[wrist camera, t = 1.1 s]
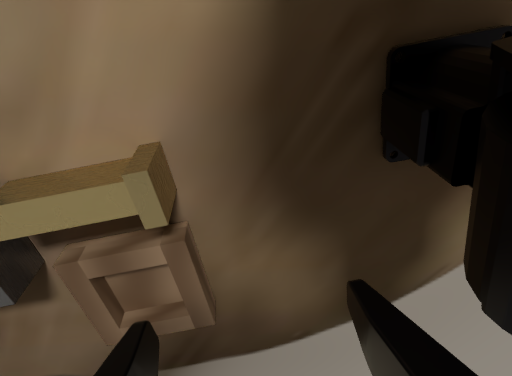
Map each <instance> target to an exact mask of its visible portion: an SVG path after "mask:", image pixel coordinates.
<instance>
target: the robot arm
mask: <svg viewBox="0 0 512 376" xmlns="http://www.w3.org/2000/svg"><path fill="white" fill-rule="evenodd" d="M504 33H505V37H504V38H503V39H502V35H503V34H504ZM399 52H401V58H400V59H399V60H398V61H396V60H395V57H396V55H397V54H398V53H399ZM380 134H381V136H382V137H383V157H384V158H385V159H386V160H387V161H389V162H397V161H402V160H407V159H411V160H412V161H414V162H415V163H416V164H417V165H419V166H428V167H429V168H430V169H431V170H433V171H434V172H435V173H437V174H438V175H439V176H440V177H442V178H443V179H444V180H446V181H447V182H448V183H450V184H451V185H452V186H456V187H457V186H462V185H469V186H470V187H471V188H473V190H472V198H471V206H470V214H469V222H468V229H467V237H466V245H465V253H464V267H465V274H466V280H467V281H468V283H469V285H470V286H471V288H472V290H473V291H474V293H475V294H476V296H477V298H478V299H479V301H480V302H481V303H482V305H481V306H482V310H483V312H484V313H485V314H486V315H487V316H488V317H490V318H491V319H492V320H493V321H494V322H495V323H496V324H498V325H499V326H500V327H501V328H502V329H504V330H505V331H507V332H508V333H510V334H511V335H512V26H505V25H502V26H497V27H492V28H487V29H482V30H477V31H471V32H466V33H461V34H456V35H451V36H446V37H441V38H435V39H430V40H425V41H420V42H415V43H410V44H405V45H399V46H396V47H393V48H392V49H391V50H390V51H389V53H388V56H387V70H386V88H385V90H384V91H383V93H382V106H381V132H380ZM393 151H395V153H394V154H393V155H392V156H390V153H391V152H393ZM347 304H348V308H349V311H350V314H351V317H352V320H353V323H354V326H355V329H356V332H357V335H358V338H359V341H360V344H361V347H362V350H363V353H364V356H365V359H366V361H367V364H368V366H369V369H370V371H371V373H372V375H373V376H478V375H477V374H475V373H474V372H473V371H472V370H470V369H469V368H468V367H467V366H466V365H465V364H463V363H462V362H461V361H460V360H458V359H457V358H456V357H455V356H454V355H453V354H451V353H450V352H449V351H448V350H447V349H445V348H444V347H443V346H442V345H440V344H439V343H438V342H437V341H435V340H434V339H433V338H432V337H431V336H430V335H428V334H427V333H426V332H425V331H424V330H422V329H421V328H420V327H419V326H417V325H416V324H415V323H414V322H413V321H412V320H410V319H409V318H408V317H407V316H406V315H404V314H403V313H402V312H401V311H399V310H398V309H397V308H396V307H394V305H392V304H391V303H390V302H389V301H388V300H386V299H385V298H384V297H383V296H382V295H380V294H379V293H378V292H377V291H375V290H374V289H373V288H372V287H371V286H369V285H368V284H367V283H366V282H365V281H363V280H361V279H357V280H352V281H348V282H347ZM158 362H159V339H158V336H157V334H156V332H155V330H154V328H153V327H152V325H151V323H150V322H149V321H148V320H144V321H139V322H135V323H133V324H132V325H131V326H130V328H129V329H128V330H127V332H126V333H125V334H124V336H123V337H122V338H121V340H120V341H119V342H118V344H117V345H116V346H115V348H114V349H113V350H112V352H111V353H110V354H109V356H108V357H107V358H106V360H105V361H104V362H103V364H102V365H101V367H100V368H99V369H98V371H97V372H96V373H95V375H94V376H158Z"/></svg>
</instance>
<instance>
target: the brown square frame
mask: <svg viewBox="0 0 512 376" xmlns="http://www.w3.org/2000/svg"><path fill="white" fill-rule="evenodd" d="M53 267H54V269H55V270H56V272H57V273H58V275H59V276H60V278H61V279H62V281H63V282H64V283H65V285H66V286H67V288H68V289H69V291H70V292H71V294H72V295H73V297H74V298H75V300H76V301H77V302H78V304H79V305H80V307H81V308H82V310H83V311H84V313H85V314H86V316H87V317H88V319H89V320H90V321H91V323H92V324H93V326H94V327H95V329H96V330H97V332H98V333H99V335H100V336H101V337H102V339H103V340H104V342H105V343H106V345H107V346H108V345H113V344H118V342H119V341H120V340H121V338H122V337H123V336H124V334H125V333H126V332H127V330H128V329H129V328H130V326H131V325H132V324H133V323H135V322H139V321H144V320H148V321H149V322H150V323H151V325H152V327H153V328H154V330H155V332H156V334H157V336H160V335H165V334H170V333H175V332H180V331H186V330H191V329H196V328H201V327H206V326H211V325H215V319H216V301H215V299H214V296H213V293H212V290H211V287H210V284H209V281H208V278H207V275H206V273H205V270H204V267H203V264H202V261H201V258H200V255H199V252H198V250H197V247H196V244H195V241H194V238H193V235H192V232H191V229H190V227H189V224H188V221H185V222H180V223H174V224H169V225H166V226H161V227H156V228H151V229H146V230H145V229H144V230H138V231H133V232H128V233H123V234H118V235H113V236H107V237H102V238H97V239H92V240H87V241H82V242H77V243H71V244H67V245H66V247H65V248H64V250H63V251H62V253H61V254H60V256H59V257H58V259H57V260H56V262H55V263H54V265H53Z"/></svg>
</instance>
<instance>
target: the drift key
mask: <svg viewBox="0 0 512 376" xmlns="http://www.w3.org/2000/svg"><path fill="white" fill-rule="evenodd" d="M176 191H177V189H176V186H175V183H174V180H173V178H172V175H171V172H170V169H169V166H168V163H167V160H166V157H165V155H164V152H163V149H162V146H161V143H160V142H156V143H151V144H145V145H140V146H139V147H138V148H137V150H136V152H135V153H134V155H133V157H132V158H127V159H122V160H116V161H111V162H106V163H101V164H96V165H91V166H86V167H80V168H75V169H70V170H65V171H60V172H55V173H49V174H44V175H39V176H34V177H29V178H24V179H19V180H13V181H8V182H7V183H6V184H5V185H4V186H2V187H1V188H0V241H5V240H10V239H15V238H20V237H25V236H30V235H35V234H41V233H46V232H51V231H56V230H61V229H66V228H72V227H77V226H82V225H87V224H92V223H97V222H102V221H108V220H113V219H118V218H123V217H128V216H133V215H139V217H140V219H141V221H142V223H143V226H144V228H145V230H146V229H151V228H156V227H161V226H166V225H168V224H169V220H170V216H171V211H172V207H173V203H174V199H175V195H176Z"/></svg>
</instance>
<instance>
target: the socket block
mask: <svg viewBox="0 0 512 376" xmlns="http://www.w3.org/2000/svg"><path fill="white" fill-rule="evenodd" d="M44 262H45V261H44V260H43V258H42V257H41V256H40V254H39V253H38V251H37V250H36V248H35V247H34V245H33V244H32V243H31V241H30V240H29V238H28V237H27V236H25V237H20V238H15V239H10V240H5V241H0V307H3V306H8V305H14V304H15V303H16V302H17V300H18V299H19V297H20V296H21V295H22V293H23V292H24V290H25V289H26V287H27V286H28V285H29V283H30V282H31V280H32V279H33V277H34V276H35V274H36V273H37V272H38V270H39V269H40V267H41V266H42V264H43V263H44Z"/></svg>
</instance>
